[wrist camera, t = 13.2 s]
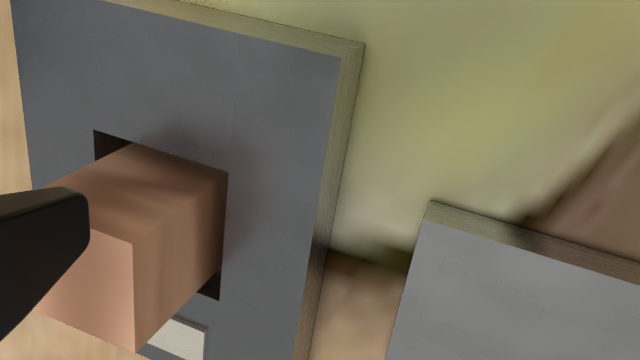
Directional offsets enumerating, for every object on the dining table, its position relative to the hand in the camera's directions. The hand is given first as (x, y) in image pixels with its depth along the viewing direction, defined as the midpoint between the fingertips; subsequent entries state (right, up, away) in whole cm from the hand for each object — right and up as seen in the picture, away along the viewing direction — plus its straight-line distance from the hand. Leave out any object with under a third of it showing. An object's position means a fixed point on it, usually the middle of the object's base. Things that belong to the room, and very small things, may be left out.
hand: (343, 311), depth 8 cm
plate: (-6, +1, +16) cm, 17 cm away
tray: (+7, -3, +13) cm, 15 cm away
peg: (-6, +1, +16) cm, 17 cm away
